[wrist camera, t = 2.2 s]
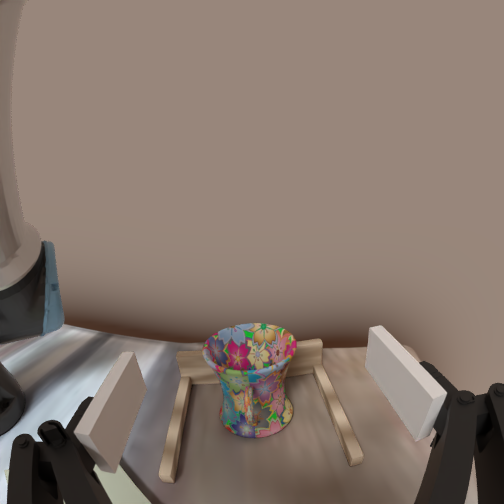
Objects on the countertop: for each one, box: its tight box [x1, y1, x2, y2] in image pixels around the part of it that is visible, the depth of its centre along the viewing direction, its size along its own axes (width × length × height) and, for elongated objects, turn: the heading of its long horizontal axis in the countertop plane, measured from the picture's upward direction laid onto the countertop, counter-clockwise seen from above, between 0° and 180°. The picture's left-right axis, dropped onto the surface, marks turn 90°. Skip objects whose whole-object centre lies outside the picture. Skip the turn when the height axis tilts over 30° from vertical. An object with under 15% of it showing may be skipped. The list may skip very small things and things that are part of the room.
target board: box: [5, 464, 151, 504], centre depth 13 cm, size 15×15×1 cm
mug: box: [202, 323, 297, 438], centre depth 27 cm, size 12×9×11 cm
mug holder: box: [158, 339, 364, 483], centre depth 28 cm, size 18×19×5 cm
